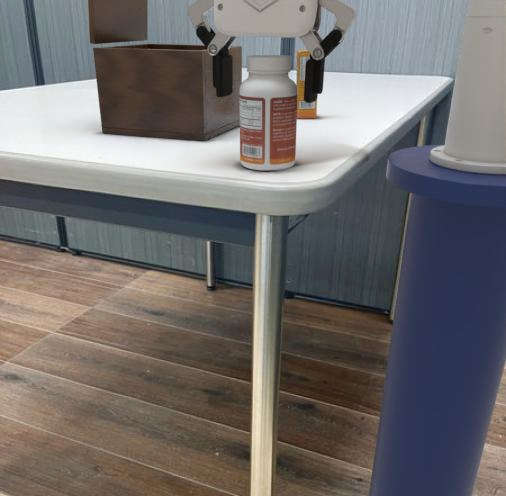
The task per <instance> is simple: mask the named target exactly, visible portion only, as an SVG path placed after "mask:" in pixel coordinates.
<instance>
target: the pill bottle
mask: <svg viewBox="0 0 506 496" xmlns="http://www.w3.org/2000/svg"><path fill="white" fill-rule="evenodd" d="M245 61H246V63H245V64H246V66H245V67H246V72H247V73H248V76H247V78H246V79H244V80H242V83H241V85H240V91H239V97H240V98H239V99H240V125H239V161H240V164H241V166H242V167H245V168H247V169H249V170H254V171H266V172H267V171H280V170H281V171H282V170H286V169H290V168H292V167H293V166H294V165H295V163H296V155H297V154H296V153H297V125H298V123H297V121H298V118H297V96H298V94H297V86H296V82H295V81H294V80H293V79H291V78H290V76H289V73H291V71H292V66H293V65H292V61H293V60H292V55H287V54H285V55H284V54H255V55H247V56H246V60H245Z"/></svg>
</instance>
